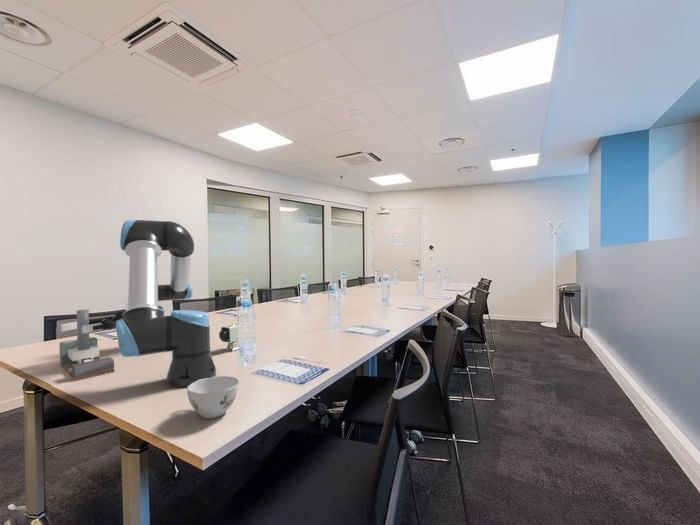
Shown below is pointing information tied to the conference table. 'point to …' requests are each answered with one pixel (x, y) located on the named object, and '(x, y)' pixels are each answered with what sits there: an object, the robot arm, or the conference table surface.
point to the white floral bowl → (213, 395)
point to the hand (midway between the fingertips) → (71, 328)
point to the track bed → (84, 362)
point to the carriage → (83, 340)
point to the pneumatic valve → (230, 336)
